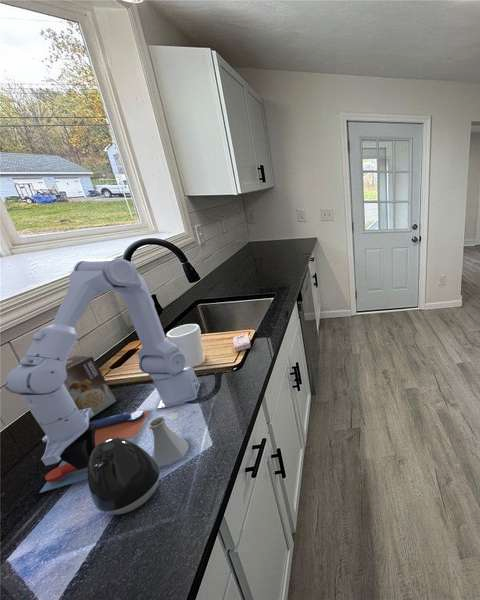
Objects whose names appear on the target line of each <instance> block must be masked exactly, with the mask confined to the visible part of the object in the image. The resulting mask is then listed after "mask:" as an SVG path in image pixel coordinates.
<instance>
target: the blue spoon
mask: <svg viewBox="0 0 480 600" xmlns="http://www.w3.org/2000/svg"><path fill="white" fill-rule="evenodd" d="M143 412H144V411H143V410H136V411H134V412H131V413H130V412H122V413H118V414H115V415H111V416H107V417H103V418H100V419H99V418H98V419H95V420H92V421H89V424H95V425H96V426H97V427H96V429H98V428H101V427H105V426H109V425H113V424H117V423H120V422H124V421H128V422H135V421H138V420H140V419H141V418H142V417H143V416H144V413H143Z"/></svg>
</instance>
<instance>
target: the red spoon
mask: <svg viewBox="0 0 480 600" xmlns="http://www.w3.org/2000/svg"><path fill="white" fill-rule="evenodd" d="M89 458H90V457H89ZM58 466H59V465H58ZM58 466H57V467H55V468H53V469H52V470H50V471H49V472H47V473H46V475H45V477H44V480H45V481H46V483H47V482H55V481H57V480H59V479H61V478H63V477H64V476H65V475H67V474H68V473H71V472H75V471H78V469H76V468H75V467H73V466H72V465H70V464H69V463H66V464H64V465H62V466H59V467H58ZM86 468H88V467H86ZM83 469H85V468H83ZM79 470H82V469H79Z"/></svg>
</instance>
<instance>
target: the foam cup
mask: <svg viewBox="0 0 480 600" xmlns="http://www.w3.org/2000/svg"><path fill="white" fill-rule="evenodd" d="M201 333H202V330H201V327H200V325H199V324H198V323H187V324H183V325H179V326H177V327H174V328H172V329H170V330H169V331H167V333H166V334H165V336H166V339H167V340H168V341H170V342H172V343H174V344H176V345H177V346H178V347H179V350H180V351H181V352H182V353H183V354H184V356H185V359H186V362H185V366H184V367H192V368H196V367H198V366H200V365H202V364H203V363H205V361H206V358H205V357H206V356H205V351H204V345H203V340H202V335H201Z"/></svg>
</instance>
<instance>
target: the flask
mask: <svg viewBox="0 0 480 600" xmlns="http://www.w3.org/2000/svg"><path fill="white" fill-rule="evenodd" d="M147 427H148V428H149V430H152V435H153V450H152V458H153V460H154V461H155V462H156V463H157V465H158V467H159V468H160V467H164V466H170V465H171V464H173V463H175V462H177V461H178V460H181V459H182V458H184V456H185V455H186V453H187V451H188V449H190V446H189V444H188V442H187V440H186V439H184V438H183V437H182V436H179V435H178V434H177V433H175V432H174V431H173V430H172V429H170V427H169V426H168V425H167V424H166V418H165V416H157V417H156V418H153V419H151V420H150V421H149V423H147Z"/></svg>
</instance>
